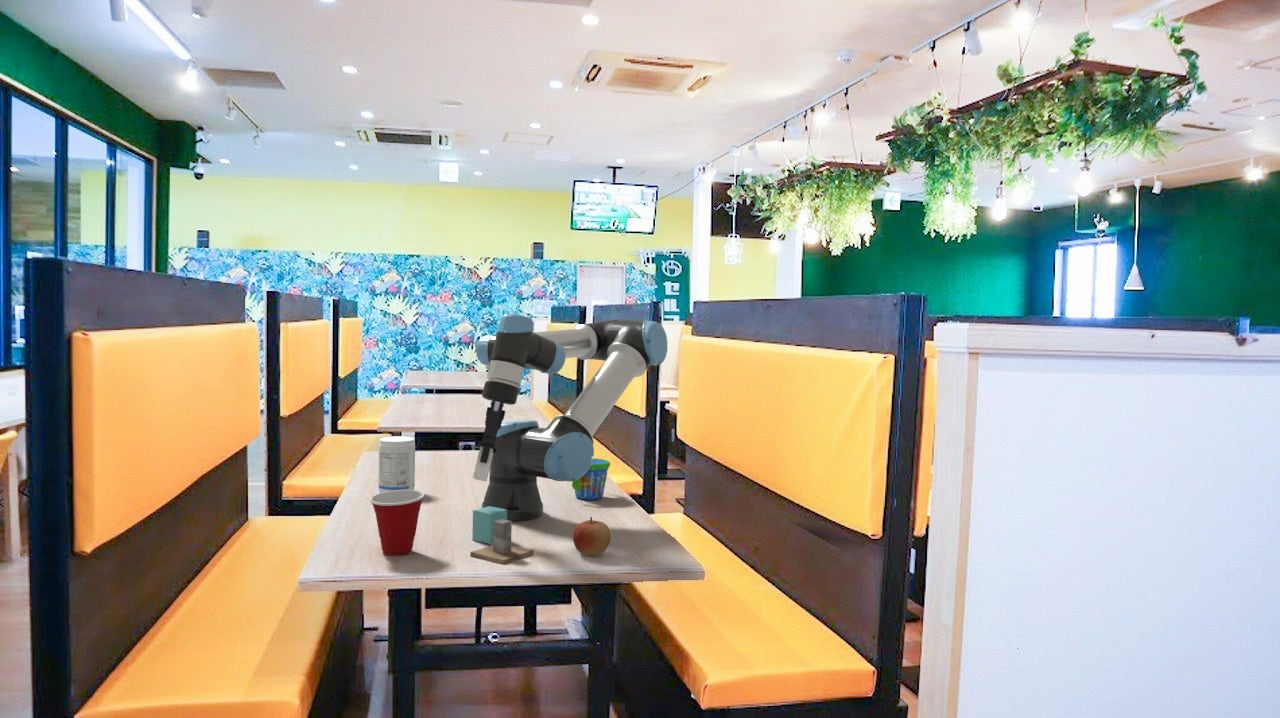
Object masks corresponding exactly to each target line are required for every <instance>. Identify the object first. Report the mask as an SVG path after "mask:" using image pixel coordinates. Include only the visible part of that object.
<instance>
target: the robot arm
mask: <svg viewBox="0 0 1280 718" xmlns="http://www.w3.org/2000/svg"><path fill="white" fill-rule="evenodd" d="M534 326H535V322H534V321H533V319H531V318H530V317H527V316H526V315H522V314H517V313H505V314H503V315H502V316H501V317H500V321H499V324H498V326H497V329H496V334H486V335H484V336H482V337H480V339H479V340H478V341H477V344H476V347H475V354H476V358H477V360H478V361H479V363H480V364H482V365H484V366H485V369H486V370H488V371H487V374H486V378H487V380H486V381H485V382H484V385H483V390H482V393H481V396H482V398H483V399H485V400H487V401H491V402H490V406H487V409H486V413H485V419H484V420H485V421H484V425H485V428H484V432H483V435H482V438H481V440H478V441H477V446H480V447H479V450H478V455H477V458H476V463H475V466H474V467H475V468H474V471H473V475H472V478H473V479H474V480H478V481H482V482H487V481H488V480H489V481H488V486H487V489H486V492H485V495H484V498H483V502H482V503H481V508H484V507H488V506H491V507H496V508H501V509H506V510H507V520H509V521H512V522H517V521H518V522H519V521H527V520H528V521H529V520H533V519H537V518H540V517H542V516H543V515H544V503H543V502H542V499H541V495H540V490H539V487H538V480H537V479H538V478H542V479H548V480H552V481H556V482H573V481H575V480H578V479H579V478H581V477H582V476H583V475H585V473H586V472H587V471H588V470H589V468H590V466H591V464H592V461H593V460H592V459H591V458H593V457H594V455H595V448H594V437H593V436H594V434H595V433H596V432H597V430H598V429H599V428H600V425H602V423H603V421H604V420H605V419H606V417H607V416H608V415H609V413H610V412H611V410H612V409H613V408H614V406H615V405H616V404H617V402H618V400H619V399H620V398H621V396H622V395H623V394H624V392H625V391H626V390H627V388H628V387H629V385H630V383H631V382H632V380H633V379H634V378H639V377H642V376H643V375H644V374H645V373H646V371H647V370H648V368H649V367H650V366H659V365H661V364H663V363H664V361H665V360H666V358H667V353H668V336H667V333H666V331H665V328H664V327H663V325H662V324H661V323H659V322H657V321H651V320H648V319H645V320H627V319H625V320H623V319H609V320H601V321H596V322H591V323H590V322H589V323H584V324H583V323H582V324H577V325H576V326H575V327H573V328H570V329H568V328H567V329H557V330H549V331H535V332H534V330H535V329H534ZM571 358H573V359H574V358H577V359H578V360H583V361H585V360H593V361H594V360H596V361H603V362H604V363H602V365H601V366H600V367H599V369H598V370H597V371H596V373H595V374H594V375H593V376H592V378H591V379H590V381H588V383H587V384H586V386H585V387H584V389H582V391H581V392H580V393H579V395H578V396H577V398H576V399H575V400H574V402H573V403H572V404H571V405H570V407H569V408H568V410H567V411H566V412H565V413H564V414H560V415H556V416H555V417H553V418H552V420H551V421H550V423H549V424H548V425H547V427H544V428H543V427H542V428H541V427H540V425H539V422H538V420H534V419H533V420H531V419H530V420H518V421H517V420H516V421H507V422H503V421H504V419H505V416H506V410H505V409H504V404H505V405H511V406H512V405H515V404H516V403H517V399H518V396H519V391H520V389H519V387H520V386H521V384H522V379H523V377H524V376H523V374H524V370H535V371H539V372H540V373H542V374H547V375H554V374H557V373H558V372H561V370H562V368H563V367H564V365H565V362H566V359H571ZM488 478H489V479H488Z"/></svg>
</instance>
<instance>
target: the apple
mask: <svg viewBox="0 0 1280 718" xmlns="http://www.w3.org/2000/svg"><path fill="white" fill-rule="evenodd" d="M611 536H612V534H611V530H610V528H609V527H608V525H607V524H606V523H604V522H602V521H599V520H594V519H593V517H592V516H590V517H589V519H587V520H585V521H584V520H583V522H582V521H581V522H580V523H578V524H577V525H576V526H575V528H574V530H573V532H572V539H573V544H574V547H575V548H576V550H577V551H578V552H579V554H581V555H583V556H588V557H596V556H600V555H601V554H603V553H604V552H605V551H607V549H608V547H609V545H610V543H611Z"/></svg>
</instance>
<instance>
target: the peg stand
mask: <svg viewBox="0 0 1280 718" xmlns="http://www.w3.org/2000/svg"><path fill="white" fill-rule="evenodd" d="M512 522H513V521H509V520H504V519H501V520H497V521H494V526H493V544H491V545H489V546H486V547H482V548H479V549H475V550H473V551H470V553H469V556H470V557H474V558H478V559H482V560H485V561H490V562H493V563H498V564H502V565H505V564H508V563H511V562H514V561H517V560H520V559H523V558H525V557H529V556H532V555H533V554H534V550H533V549H528V548H525V547H521V546H516V545H512V529H513V528H512V524H513V523H512Z"/></svg>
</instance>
